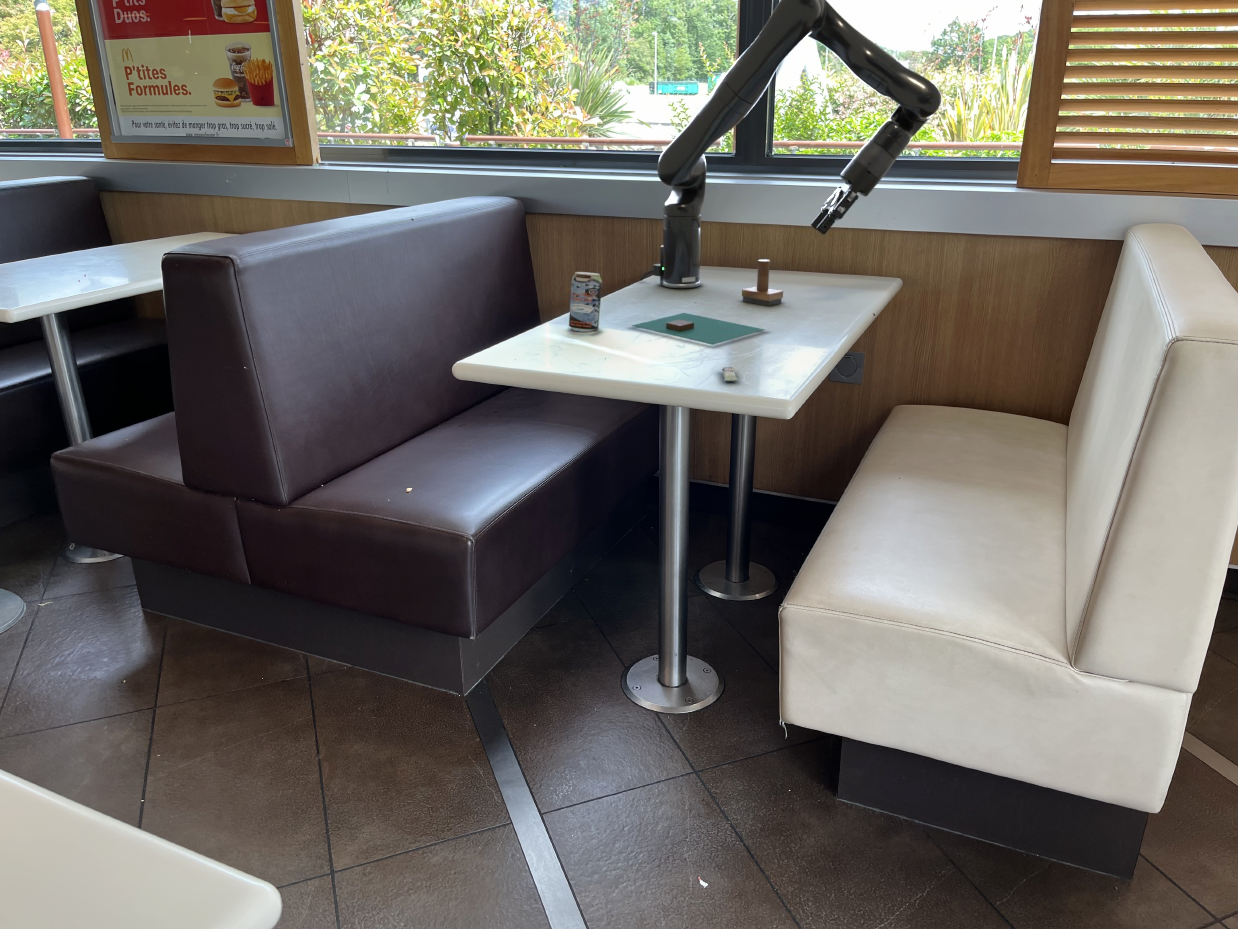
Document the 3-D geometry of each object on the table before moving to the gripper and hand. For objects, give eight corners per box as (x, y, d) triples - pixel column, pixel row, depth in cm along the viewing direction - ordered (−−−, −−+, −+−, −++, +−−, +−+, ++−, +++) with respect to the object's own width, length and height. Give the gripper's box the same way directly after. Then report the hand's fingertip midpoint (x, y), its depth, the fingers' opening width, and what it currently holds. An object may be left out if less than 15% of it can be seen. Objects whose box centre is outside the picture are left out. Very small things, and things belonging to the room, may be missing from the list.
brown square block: (666, 328, 180) (666, 322, 180) (679, 325, 183) (679, 319, 182) (680, 331, 177) (680, 325, 177) (694, 328, 180) (694, 322, 179)
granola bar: (738, 383, 147) (738, 377, 146) (724, 383, 147) (724, 377, 146) (734, 371, 153) (734, 365, 153) (720, 371, 153) (720, 365, 153)
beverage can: (563, 333, 180) (561, 273, 175) (581, 325, 186) (580, 267, 181) (590, 336, 177) (589, 276, 172) (608, 328, 183) (607, 270, 178)
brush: (741, 301, 206) (742, 259, 202) (754, 298, 209) (756, 257, 205) (769, 306, 200) (771, 263, 197) (782, 303, 203) (785, 260, 200)
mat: (631, 328, 183) (631, 325, 183) (684, 315, 193) (684, 312, 193) (712, 347, 168) (712, 344, 168) (765, 332, 178) (765, 329, 178)
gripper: (848, 156, 197) (799, 216, 202) (861, 157, 184) (808, 222, 189) (873, 177, 198) (824, 237, 203) (888, 181, 185) (835, 244, 190)
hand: (816, 229), depth 196 cm, fingers open, 8 cm apart
